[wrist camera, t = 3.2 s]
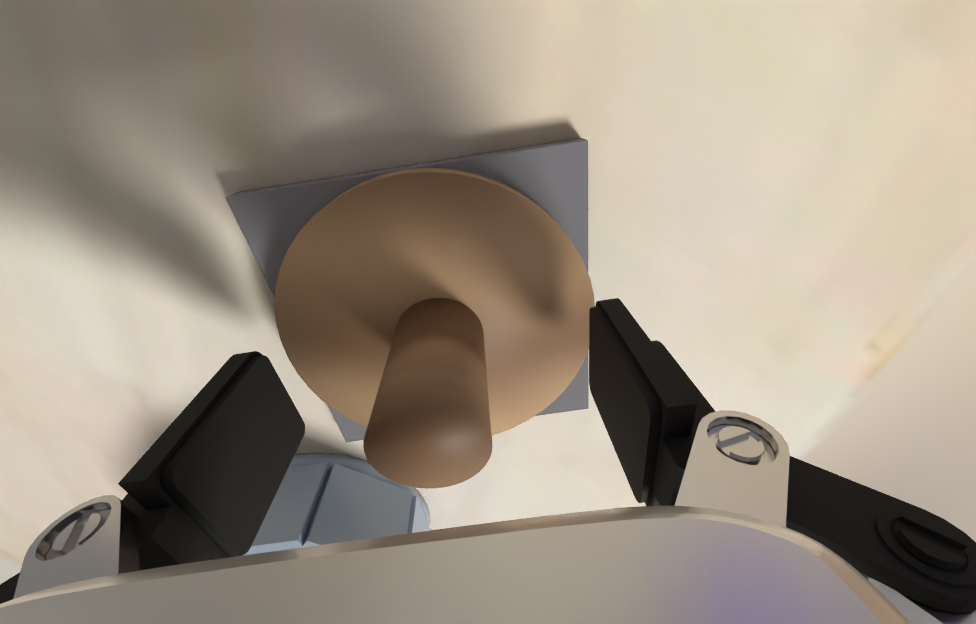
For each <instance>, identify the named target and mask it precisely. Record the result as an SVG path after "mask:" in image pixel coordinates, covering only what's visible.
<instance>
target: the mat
mask: <svg viewBox="0 0 976 624" xmlns="http://www.w3.org/2000/svg"><path fill="white" fill-rule="evenodd" d="M426 167H433V168H451V169H458V170H463V171H468V172H473V173H478V174H481V175H484V176H487V177H489V178H492V179H495V180H498V181H501V182H503V183H505V184H507V185H509V186H511V187H513V188H515V189H517V190H519V191H520V192H522V193H523V194H525V195H526V196H528V197H529V198H530V199H532V200H533V201H535V202H536V203H538V204H539V205H540V206H541V207H542V208H543V209H544V210H545V211H546V212H547V213H549V214H550V215H551V216H552V217H553V218H554V219H555V221H556V222H557V223H558V224H559V226H560V227H561V228H562V229H563V231H564V232H565V233H566V234H567V236H568V237H569V238H570V240H571V241H572V243H573V244H574V246H575V248H576V249H577V251H578V253H579V255H580V256H581V258H582V260H583V262H584V265H585V267H586V270H587V272H588V140H585V139H583V138H579V139H573V140H567V141H560V142H554V143H548V144H541V145H535V146H529V147H522V148H516V149H510V150H503V151H497V152H491V153H484V154H478V155H472V156H465V157H459V158H453V159H446V160H440V161H434V162H427V163H421V164H415V165H408V166H402V167H396V168H389V169H383V170H377V171H370V172H364V173H358V174H351V175H345V176H339V177H332V178H326V179H320V180H314V181H307V182H301V183H295V184H288V185H282V186H276V187H269V188H263V189H257V190H250V191H244V192H238V193H235V194H233V195H230V196H228V197H226V200H227V202H228V204H229V206H230V208H231V210H232V212H233V214H234V216H235V218H236V220H237V222H238V224H239V226H240V228H241V230H242V232H243V234H244V236H245V238H246V240H247V242H248V244H249V246H250V248H251V250H252V252H253V254H254V256H255V258H256V260H257V262H258V264H259V266H260V268H261V271H262V273H263V275H264V277H265V279H266V281H267V283H268V285H269V287H270V289H271V291H272V293H273V295H274V297H275V290H276V283H277V279H278V275H279V270H280V267H281V265H282V262H283V260H284V257H285V255H286V253H287V250H288V249H289V247H290V245H291V244H292V242H293V241H294V239H295V238H296V236H297V234H298V233H299V231H300V230H301V229H302V228H303V227H304V226H305V225H306V224H307V223H308V222H309V220H310V219H311V218H312V217H313V216H314V215H315V214H316V213H318V212H319V211H320V210H321V209H323V208H324V207H325V206H326V205H328V204H329V203H330V202H331V201H333V200H334V199H335V198H336V197H338V196H339V195H340V194H342V193H343V192H345V191H347V190H349V189H350V188H352V187H354V186H356V185H357V184H359V183H361V182H364V181H366V180H369V179H372V178H374V177H377V176H379V175H382V174H387V173H391V172H395V171H400V170H404V169H414V168H426ZM328 406H329V405H328ZM329 408H330V410H331V412H332V414H333V416H334V419H335V421H336V423H337V425H338V427H339V429H340V431H341V433H342V435H343V437H344V439H345V441H346V442H351V441H358V440H364V437H365V433H366V430H367V428H366V427H364V426H362V425H360V424H358V423H356V422H354V421H352V420H350V419H348V418H347V417H345V416H343V415H342V414H340V413H339V412H337V411H335V410H334V409H333V408H332V407H330V406H329ZM581 409H588V352H587V355H586V357H585V360H584V362H583V364H582V366H581V368H580V369H579V371H578V373H577V375H576V376H575V378H574V379H573V380H572V382H571V383H570V384H569V386H568V387H567V388H566V389H565V391H564V392H563V393H562V394H561V395H560V396H559V397H558V398H557V399H556V400H555V401H554V402H552V403H551V404H550V405H549V406H548V407H546V408H545V409H544V410H543V411H541V412H540V413H538V414H537V415H535V416H538V415H545V414H552V413H559V412H566V411H574V410H581Z"/></svg>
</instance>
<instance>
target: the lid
mask: <svg viewBox="0 0 976 624" xmlns="http://www.w3.org/2000/svg"><path fill="white" fill-rule="evenodd" d="M591 307H595V305H594V294H593V290H592V285H591V281H590V277H589V275H588V272H587V270H586V267H585V265H584V262H583V260H582V258H581V256H580V255H579V253H578V251H577V249H576V248H575V246H574V244H573V243H572V241H571V240H570V238H569V237H568V236H567V234H566V233H565V232H564V231H563V229H562V228H561V227H560V226H559V224H558V223H557V222H556V221H555V219H554V218H553V217H552V216H551V215H550V214H549V213H547V212H546V211H545V210H544V209H543V208H542V207H541V206H540V205H539V204H538V203H536V202H535V201H533V200H532V199H530V198H529V197H528V196H526V195H525V194H523V193H522V192H520V191H519V190H517V189H515V188H513V187H511V186H509V185H507V184H505V183H503V182H501V181H498V180H495V179H492V178H489V177H487V176H484V175H481V174H478V173H473V172H468V171H463V170H458V169H451V168H433V167H426V168H414V169H404V170H400V171H395V172H391V173H387V174H382V175H379V176H377V177H374V178H372V179H369V180H366V181H364V182H361V183H359V184H357V185H356V186H354V187H352V188H350V189H349V190H347V191H345V192H343V193H342V194H340V195H339V196H338V197H336V198H335V199H334V200H333V201H331V202H330V203H329V204H328V205H326V206H325V207H324V208H323V209H321V210H320V211H319V212H318V213H316V214H315V215H314V216H313V217H312V218H311V219H310V220H309V222H308V223H307V224H306V225H305V226H304V227H303V228H302V229H301V230H300V231H299V233H298V234H297V236H296V238H295V239H294V241H293V242H292V244H291V245H290V247H289V249H288V250H287V253H286V255H285V257H284V260H283V262H282V265H281V267H280V270H279V275H278V279H277V283H276V290H275V314H276V324H277V328H278V331H279V335H280V339H281V342H282V345H283V347H284V349H285V351H286V354H287V356H288V358H289V360H290V362H291V363H292V365H293V367H294V368H295V370H296V371H297V373H298V374H299V376H300V377H301V378H302V379H303V381H304V382H305V383H306V384H307V386H308V387H309V388H310V389H311V390H312V391H313V392H314V393H315V394H316V395H317V396H318V397H319V398H320V399H321V400H323V401H324V402H325V403H326V404H328V405H329V406H330V407H332V408H333V409H334V410H335V411H337V412H339V413H340V414H342V415H343V416H345V417H347V418H348V419H350V420H352V421H354V422H356V423H358V424H360V425H362V426H364V427H366V428H367V430H366V433H365V437H364V452H365V455H366V457H367V459H368V461H369V463H370V464H371V465H372V466H373V468H374V469H376V470H377V471H378V472H379V473H380V474H382V475H383V476H385V477H386V478H388V479H390V480H392V481H394V482H397V483H400V484H403V485H406V486H411V487H417V488H441V487H447V486H451V485H455V484H458V483H461V482H463V481H465V480H467V479H469V478H471V477H473V476H474V475H476V474H477V473H478V472H479V471H480V470H481V469H482V468H483V467H484V466H485V465H486V463H487V462H488V460H489V458H490V456H491V452H492V435H494V434H498V433H500V432H503V431H506V430H508V429H511V428H513V427H515V426H517V425H519V424H521V423H523V422H525V421H527V420H529V419H530V418H532V417H534V416H535V415H537V414H538V413H540V412H541V411H543V410H544V409H545V408H546V407H548V406H549V405H550V404H551V403H552V402H554V401H555V400H556V399H557V398H558V397H559V396H560V395H561V394H562V393H563V392H564V391H565V389H566V388H567V387H568V386H569V384H570V383H571V382H572V380H573V379H574V378H575V376H576V375H577V373H578V371H579V369H580V368H581V366H582V364H583V362H584V360H585V357H586V355H587V352H588V350H589V310H590V308H591Z"/></svg>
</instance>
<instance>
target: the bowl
mask: <svg viewBox="0 0 976 624" xmlns="http://www.w3.org/2000/svg"><path fill="white" fill-rule="evenodd" d="M429 525H430V513H429V509H428V506H427V504H426V502H425V500H424V498H423V497H422V495H421V494H420V493H419V491H418V490H417V489H416V488H415V487H411V486H406V485H403V484H400V483H397V482H394V481H392V480H390V479H388V478H386V477H385V476H383V475H382V474H380V473H379V472H378V471H377V470H376V469H374V468H373V466H372V465H371V464H370V463H369V462H368V461H365V460H362V459H357V458H353V457H349V456H342V455H336V454H323V453H305V454H295V455H294V457H293V459H292V461H291V463H290V465H289V468H288V470H287V472H286V474H285V476H284V478H283V480H282V482H281V484H280V487H279V489H278V491H277V493H276V495H275V497H274V499H273V501H272V503H271V506H270V508H269V510H268V512H267V514H266V516H265V518H264V520H263V523H262V525H261V527H260V529H259V531H258V533H257V535H256V537H255V539H254V542H253V544H252V546H251V548H250V549H249V551H248V552H247V553H246V554H244V555H251V554H258V553H265V552H273V551H280V550H287V549H295V548H302V547H310V546H317V545H325V544H332V543H340V542H347V541H355V540H362V539H370V538H377V537H385V536H393V535H400V534H408V533H416V532H423V531H431V530H430V527H429ZM244 555H243V556H244Z"/></svg>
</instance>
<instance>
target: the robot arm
mask: <svg viewBox="0 0 976 624" xmlns="http://www.w3.org/2000/svg"><path fill="white" fill-rule="evenodd" d="M589 384H590V390H591V393H592V396H593V398H594V401H595V403H596V405H597V408H598V410H599V413H600V415H601V417H602V420H603V422H604V425H605V427H606V429H607V432H608V434H609V436H610V439H611V441H612V444H613V446H614V448H615V451H616V453H617V456H618V458H619V460H620V463H621V465H622V467H623V470H624V472H625V475H626V477H627V479H628V482H629V484H630V487H631V489H632V491H633V494H634V496H635V498H636V500H637V501H638V502H639V503H642V502H645V504H646V506H644V507H627V508H614V509H605V510H596V511H587V512H578V513H569V514H559V515H550V516H541V517H533V518H526V519H518V520H510V521H502V522H494V523H486V524H478V525H470V526H462V527H455V528H447V529H439V530H431V531H423V532H416V533H408V534H400V535H393V536H385V537H377V538H370V539H362V540H355V541H347V542H340V543H332V544H325V545H317V546H310V547H302V548H295V549H287V550H280V551H273V552H265V553H258V554H251V555H244V554H246V553H247V552H248V551H249V549H250V548H251V546H252V544H253V542H254V539H255V537H256V535H257V533H258V531H259V529H260V527H261V525H262V523H263V520H264V518H265V516H266V514H267V512H268V510H269V508H270V506H271V503H272V501H273V499H274V497H275V495H276V493H277V491H278V489H279V487H280V484H281V482H282V480H283V478H284V476H285V474H286V472H287V470H288V468H289V465H290V463H291V461H292V459H293V457H294V455H295V453H296V451H297V448H298V446H299V444H300V442H301V440H302V438H303V436H304V433H305V424H304V421H303V420H302V418H301V416H300V414H299V412H298V411H297V409H296V407H295V405H294V403H293V402H292V400H291V398H290V396H289V394H288V393H287V391H286V389H285V387H284V385H283V384H282V382H281V380H280V378H279V376H278V375H277V373H276V371H275V369H274V367H273V366H272V364H271V362H270V360H269V359H268V357H266V356H264V355H262V354H261V353H259V352H256V351H254V352H248V353H241V354H235V355H233V356H232V357H230V358H229V360H228V361H227V362H226V363H225V364H224V365H223V366H222V367H221V369H220V370H219V371H218V372H217V373H216V374H215V375H214V376H213V378H212V379H211V380H210V381H209V382H208V383H207V384H206V385H205V387H204V388H203V389H202V390H201V391H200V392H199V393H198V395H197V396H196V397H195V398H194V399H193V400H192V401H191V402H190V404H189V405H188V406H187V407H186V408H185V409H184V410H183V411H182V413H181V414H180V415H179V416H178V417H177V418H176V419H175V420H174V422H173V423H172V424H171V425H170V426H169V427H168V428H167V429H166V431H165V432H164V433H163V434H162V435H161V436H160V437H159V438H158V440H157V441H156V442H155V443H154V444H153V445H152V446H151V447H150V449H149V450H148V451H147V452H146V453H145V454H144V455H143V456H142V458H141V459H140V460H139V461H138V462H137V463H136V464H135V465H134V467H133V468H132V469H131V470H130V471H129V472H128V473H127V474H126V476H125V477H124V478H123V479H122V480H121V481H120V482H119V483H118V484H119V485H120V486H121V487H122V488H123V489H124V490H125V491H126V492H127V493H128V494H127V495H126V496H125V498H124V499H123V500H122V501H121V500H120V499H119V498H118V497H116V496H114V495H108V496H101V497H97V498H94V499H91V500H89V501H87V502H85V503H82V504H80V505H78V506H77V507H75V508H73V509H72V510H70V511H68V512H67V513H65V514H64V515H62V516H61V517H60V518H58V519H57V520H56V521H54V522H53V523H52V524H50V525H49V526H48V527H47V528H46V529H45V530H44V531H43V532H42V533H41V534H40V535H39V536H38V537H37V538H36V539H35V541H34V542H33V543H32V545H31V546H30V547H29V549H28V551H27V553H26V555H25V557H24V561H23V564H22V568H21V572H20V573H18V574H17V575H15V576H13V577H12V578H10V579H8V580H7V581H5V582H4V583H2V584H1V585H0V624H976V542H975V541H973V540H972V539H971V538H970V537H969V536H968V535H967V534H965V533H964V532H963V531H961V530H960V529H958V528H956V527H955V526H954V525H952V524H951V523H949V522H947V521H946V520H944V519H942V518H940V517H938V516H936V515H934V514H932V513H930V512H928V511H926V510H923V509H921V508H919V507H916V506H914V505H911V504H909V503H906V502H904V501H901V500H899V499H896V498H894V497H891V496H889V495H886V494H884V493H881V492H879V491H876V490H874V489H871V488H869V487H866V486H864V485H861V484H859V483H856V482H853V481H851V480H848V479H846V478H843V477H841V476H839V475H836V474H834V473H831V472H829V471H826V470H824V469H821V468H819V467H816V466H814V465H811V464H809V463H806V462H804V461H801V460H799V459H796V458H794V457H791V456H790V454H789V449H788V445H787V443H786V441H785V440H784V438H783V437H782V435H781V434H780V433H779V432H778V431H776V430H775V429H774V428H773V427H772V426H771V425H769V424H767V423H766V422H764V421H762V420H761V419H759V418H756V417H754V416H751V415H749V414H746V413H741V412H737V411H717V412H715V410H714V409H713V408H712V406H711V405H710V404H709V403H708V401H707V400H706V399H705V398H704V396H703V395H702V394H701V392H700V391H699V390H698V389H697V387H696V386H695V385H694V384H693V382H692V381H691V380H690V378H689V377H688V376H687V375H686V373H685V372H684V371H683V370H682V368H681V367H680V366H679V364H678V363H677V362H676V361H675V359H674V358H673V357H672V356H671V354H670V353H669V352H668V350H667V349H666V348H665V347H664V345H663V344H662V343H661V342H659V341H650V339H649V338H648V337H647V335H646V334H645V332H644V331H643V330H642V328H641V327H640V326H639V324H638V323H637V322H636V320H635V319H634V318H633V316H632V315H631V314H630V312H629V311H628V310H627V308H626V307H625V306H624V304H623V303H622V302H621V300H620V299H619V298H616V299H609V300H602V301H597V302H596V307H591V308H590V310H589ZM243 555H244V556H243Z"/></svg>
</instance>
